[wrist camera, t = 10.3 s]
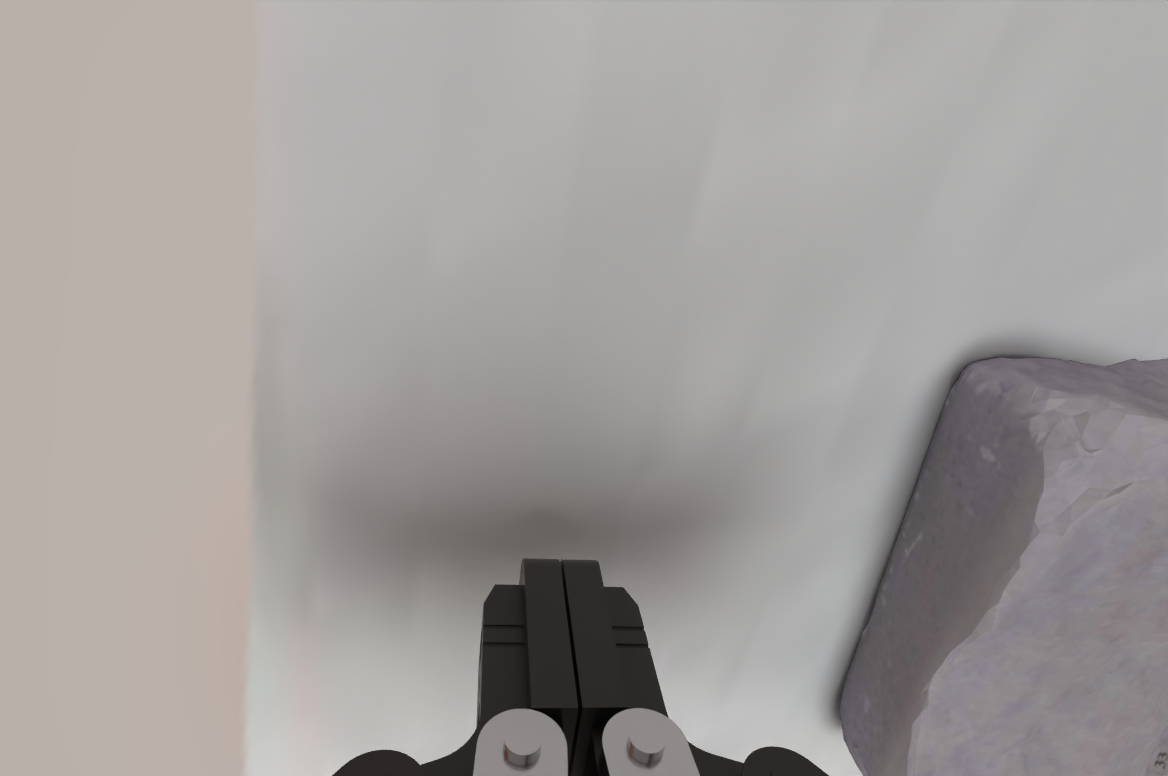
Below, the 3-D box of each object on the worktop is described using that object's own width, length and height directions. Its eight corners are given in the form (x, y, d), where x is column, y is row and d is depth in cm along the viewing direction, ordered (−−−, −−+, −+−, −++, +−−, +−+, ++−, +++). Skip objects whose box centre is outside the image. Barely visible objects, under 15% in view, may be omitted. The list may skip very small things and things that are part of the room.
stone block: (1225, 334, 18) (929, 335, 15) (1486, 420, 14) (1157, 449, 11) (1043, 663, 23) (793, 719, 20) (1196, 798, 19) (912, 897, 16)
